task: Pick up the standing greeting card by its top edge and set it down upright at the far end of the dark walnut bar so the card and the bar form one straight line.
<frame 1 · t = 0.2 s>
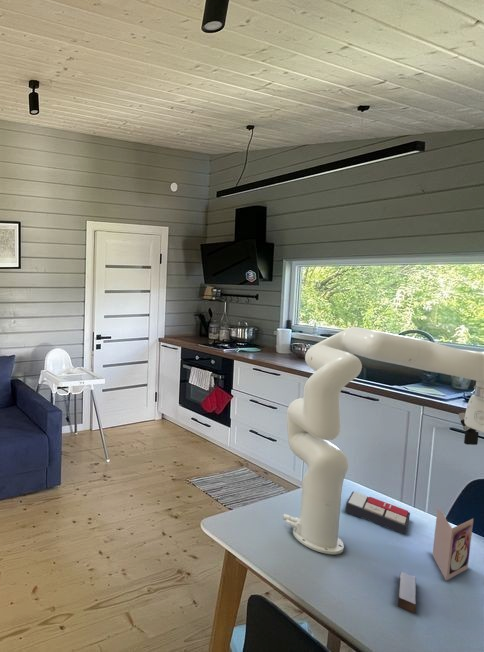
walnut bar: (406, 595, 102), on the table
calculator: (376, 517, 135), on the table
greeting card: (442, 567, 112), on the table
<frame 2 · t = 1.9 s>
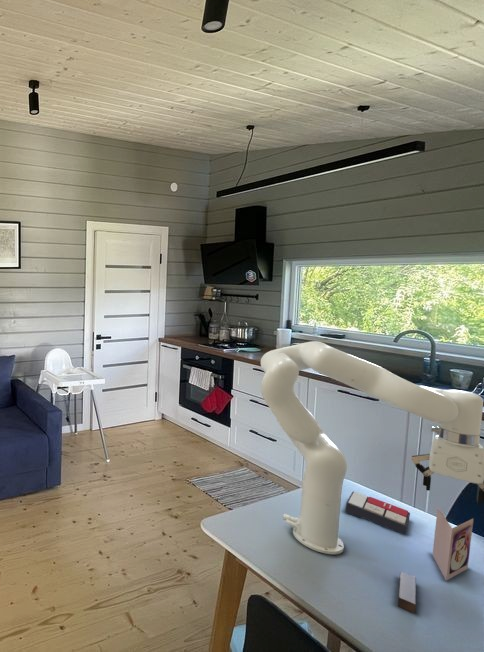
hand: (452, 495, 110), 21 cm above the table, tool pointing down, fingers open, 9 cm apart
nothing on the table moved.
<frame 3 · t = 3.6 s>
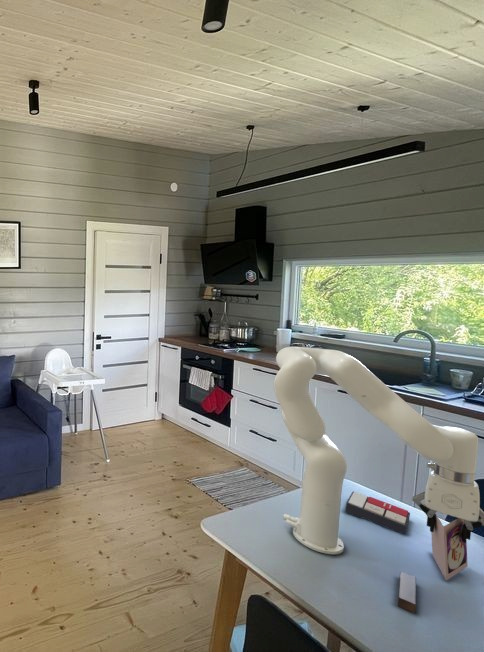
hand: (447, 534, 111), 10 cm above the table, tool pointing down, fingers closed on greeting card, 5 cm apart
greeting card: (443, 567, 112), on the table, touching gripper
everything else where it was.
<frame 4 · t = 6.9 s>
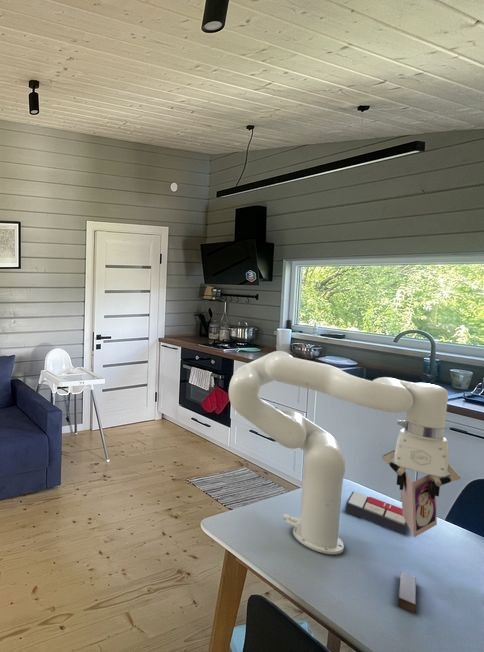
hand: (416, 491, 109), 23 cm above the table, tool pointing down, fingers closed on greeting card, 5 cm apart
greeting card: (412, 526, 111), point 13 cm above the table, touching gripper
everything else where it was.
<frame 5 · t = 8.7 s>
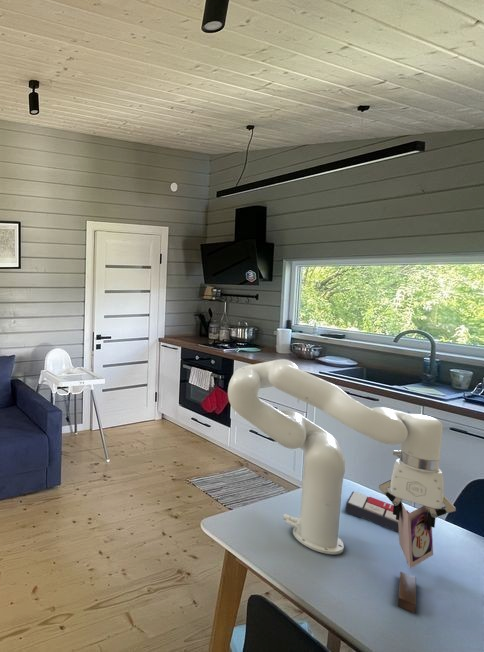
hand: (412, 522, 110), 14 cm above the table, tool pointing down, fingers closed on greeting card, 5 cm apart
greeting card: (408, 556, 111), point 4 cm above the table, touching gripper
everything else where it was.
when the fingers open (10 cm above the table, at t = 10.1 s): greeting card stays where it is, on the table.
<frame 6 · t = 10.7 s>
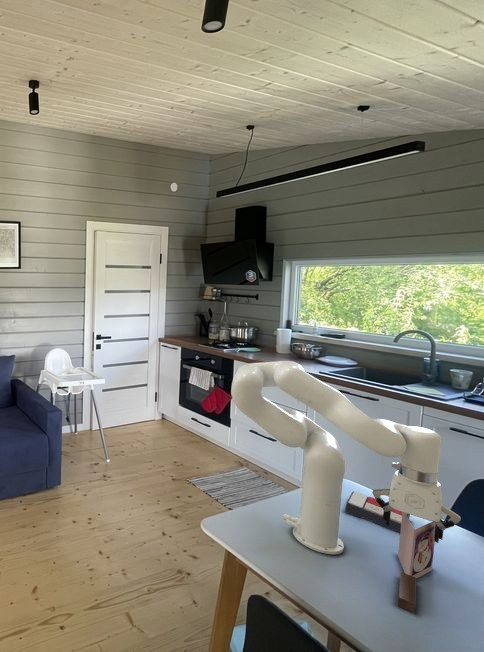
hand: (411, 531, 111), 11 cm above the table, tool pointing down, fingers open, 9 cm apart
greeting card: (407, 569, 112), on the table
everything else where it was.
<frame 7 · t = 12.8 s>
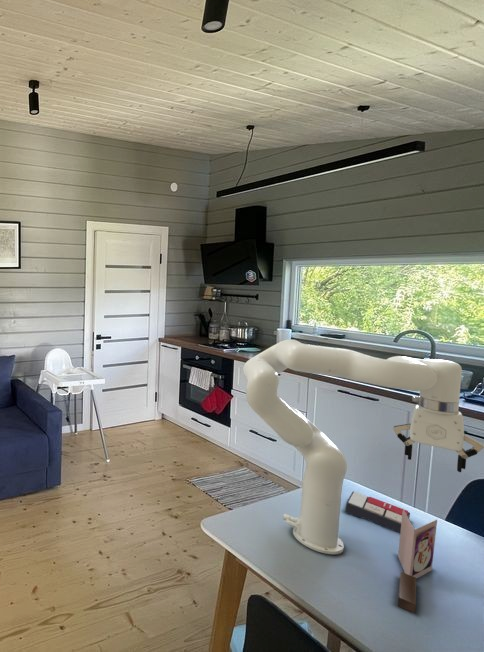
hand: (433, 464, 111), 30 cm above the table, tool pointing down, fingers open, 9 cm apart
nothing on the table moved.
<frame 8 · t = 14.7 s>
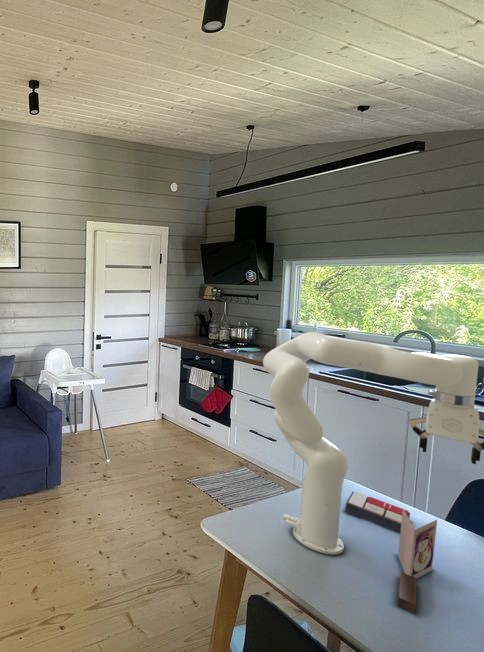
hand: (448, 456, 114), 30 cm above the table, tool pointing down, fingers open, 9 cm apart
nothing on the table moved.
at the end: greeting card 0.3 cm from the target spot, on the table; greeting card tilted 0°; the gripper is holding nothing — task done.
